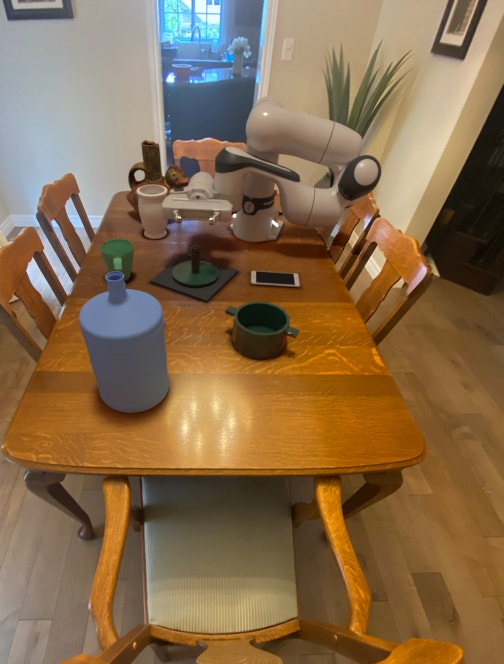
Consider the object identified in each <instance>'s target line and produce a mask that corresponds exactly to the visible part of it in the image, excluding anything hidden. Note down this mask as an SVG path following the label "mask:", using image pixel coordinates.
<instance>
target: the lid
mask: <svg viewBox="0 0 504 664" xmlns="http://www.w3.org/2000/svg"><path fill="white" fill-rule="evenodd" d="M190 256H191V261H185V262H182V263H179V264H178V265H176V266H175V267H174V268H173V270H172V276H173V278H174V279H175V280H176V281H177V282H179V283H181V284H184V285H187V286H205V285H208V284H211V283H213V282H214V281H216V280H217V278H218V276H219V270H218V269H217V267H216V266H214V265H213V264H211V263H209V262H205V261H200V259H201V246H200V245H199V244H192V245H191V247H190Z"/></svg>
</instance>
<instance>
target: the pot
mask: <svg viewBox="0 0 504 664" xmlns="http://www.w3.org/2000/svg"><path fill="white" fill-rule="evenodd" d="M224 314H226V315H229V316H231V317H233V323H232V333H231V343H232V346H233V348H234V349H235V350H236V351H237V352H238V353H240V354H241V355H242V356H245V357H247V358H251V359H258V360H265V359H271V358H274V357H276V356H278V355H279V354H281V352H282V351H283V350H284V348H285V346H286V341H287V337H290V338H292V339H296V338H297V337H298V335H299V334H300V331H301V330H300V329H298V328H295V327H292V326H290V325H291V317H290V315H289V314H288V312H287V311H286V309H284V308H282V307H280V306H279V305H278V304H275V303H272V302H268V301H257V300H256V301H251V302H246V303H243V304H242V305H239V307H235V306H232V305H229V306H228V307H227V308H226V309H225V310H224Z"/></svg>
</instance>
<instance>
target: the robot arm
mask: <svg viewBox="0 0 504 664" xmlns="http://www.w3.org/2000/svg"><path fill="white" fill-rule="evenodd" d="M245 125H246V126H245V135H246V136H245V137H246V147H245V150H243V149H241V148H239V147H236V146H224V147H223V148H222V149H221V150H219V152H218V153H217V154H216V156H215V157H214V172H215V173H214V178H213V177H212V175H211V174H210V173H208V172H206V171H199V172H196V173H195V174H193V176H191V178H190V179H189V180H190V182H189V184H188V186H186V187H184V188H179V189H172V190H170V195H168V196H167V197H166V198H165V199H164V201H163V203H162V217H163V218H164V219H168V220H173V221H175V224H182V221H201V222H208V225H209V226H215V224H216V223H218V222H219V223H220V222H222V223H228V222H230V221H232V218H233V223H231V224H230V225H229V229H230V230H231V231H232V232H233V235H234V236H235V237H236V238H238V239H239V240H243V241H247V242H253V243H254V242H255V243H258V242H265V241H276V240H278V239H277V238H278V236H279V235H280V232H281V230H282V228H283V226H284V221H282V220H281V219H280V218H279V215H280V216H282V215H283V218H284V219H285V220H286V221H287V222H288V223H290V224H292V225H296V226H301V227H310V228H327V227H328V228H329V227H333V226H336V225H337V224H338V223H339V222H340V221H341V219H342V218H343V215H344V213H345V209H346V210H347V209H349V208H352V207H353V206H355V205H356V204H358V203H360V202H361V201H363V200H364V199H365V198H366V197H367V196H368V195H369V194H370V193H372V192H373V191H374V190H375V188H377V185H378V184H379V182H380V180H381V176H382V166H381V163H380V162H379V160H378V159H377V158H376V157H375V156H373V155H370V154H363V155H362V154H361V153H362V150H363V137H362V136H361V134H359V133H358V132H356V131H355V130H353V129H352V128H350V127H349V126H346V125H344V124H342V123H340V122H338V121H337V122H336V121H334V120H332V119H328V118H325V117H322V116H319V115H316V114H314V113H310V112H301V111H297V110H292V109H286V108H284V105H283V104H282V102H281V100H279V99H278V98H277V97H275V96H272V95H265V96H262V97H260V98H259V99H258V100H257V101H255V103H254V105H252V108H251V110H250V112H249V115H248V118H247V120H246V123H245ZM280 155H285V156H290V157H295V158H299V159H302V160H305V161H308V162H311V163H315V164H317V165H319V166H324V167H327V168H328V169H330V170H331V171H332V173H331V175H330V178H329V179H330V181H329V188H321V187H315V186H314V187H313V186H309V185H307V184H305V183H304V182H302V180H301V177H300V176H301V175H300V174H299V173H297V172H296V171H294V169H291V168H289V167H286V166H284V165H281V164H279V160H280ZM275 186H277V189H275ZM278 193H279V202H280V209H281V211H280V209H279V207H278V206H277V205H276V203H275V201H276V196H278Z"/></svg>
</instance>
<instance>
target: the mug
mask: <svg viewBox="0 0 504 664" xmlns="http://www.w3.org/2000/svg"><path fill="white" fill-rule="evenodd" d="M99 251H100V254H101V257H102V259H103V261H104V264H105V266H106V268H107V270H108V272H113V271H118V272H122V273H123V274H124V282H126V281H128V280H129V279H130V277H131V274H132V269H133V263H134V256H135V255H134V253H135V245H134V243H133V242H132V241H130V240H128V239H126V238H125V239H124V238H112V239H108V240H104V242H103V244H102V243H101V244H100V245H99Z"/></svg>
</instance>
